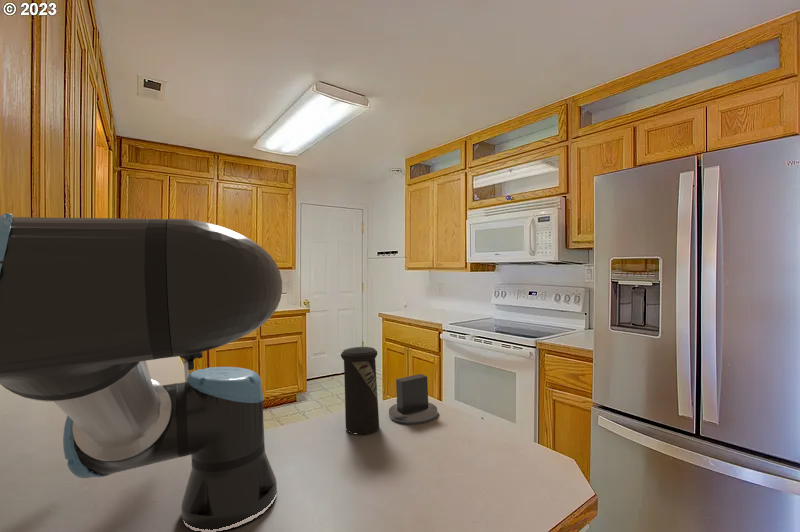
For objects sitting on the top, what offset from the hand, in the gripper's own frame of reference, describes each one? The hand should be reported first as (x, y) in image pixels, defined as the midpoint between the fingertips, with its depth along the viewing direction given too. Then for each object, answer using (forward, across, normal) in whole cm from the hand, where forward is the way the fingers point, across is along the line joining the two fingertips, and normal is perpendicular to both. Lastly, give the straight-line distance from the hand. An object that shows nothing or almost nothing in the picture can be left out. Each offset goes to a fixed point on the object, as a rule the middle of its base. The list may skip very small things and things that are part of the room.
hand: (152, 383), depth 87 cm
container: (+6, -45, +20) cm, 49 cm away
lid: (+6, -60, +19) cm, 63 cm away
